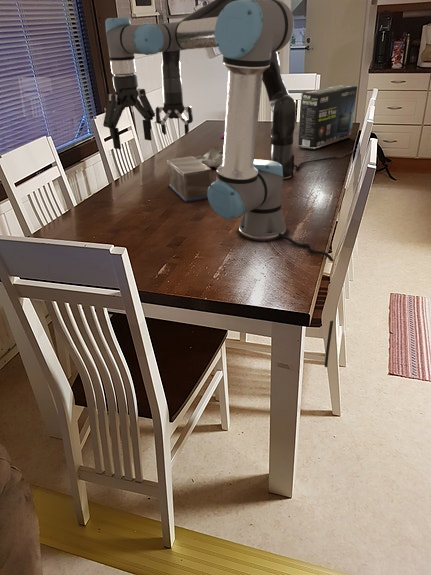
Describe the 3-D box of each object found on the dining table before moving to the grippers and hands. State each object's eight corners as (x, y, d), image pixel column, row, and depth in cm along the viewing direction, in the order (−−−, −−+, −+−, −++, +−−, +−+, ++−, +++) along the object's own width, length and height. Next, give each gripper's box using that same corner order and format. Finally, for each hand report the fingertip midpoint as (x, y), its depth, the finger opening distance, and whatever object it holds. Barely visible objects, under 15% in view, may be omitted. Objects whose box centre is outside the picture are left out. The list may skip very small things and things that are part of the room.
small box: (169, 186, 193) (166, 159, 187) (194, 182, 196) (192, 156, 191) (185, 202, 176) (183, 173, 170) (212, 197, 179) (211, 169, 174)
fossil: (221, 163, 205) (198, 141, 208) (209, 182, 212) (187, 161, 215) (241, 160, 219) (220, 139, 222) (229, 178, 225) (209, 158, 229)
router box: (314, 151, 231) (318, 94, 217) (296, 148, 237) (299, 92, 224) (352, 138, 251) (358, 85, 238) (335, 135, 258) (340, 83, 245)
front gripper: (145, 70, 153) (152, 135, 164) (84, 79, 137) (96, 150, 148) (161, 70, 149) (167, 137, 160) (99, 80, 133) (111, 154, 144)
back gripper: (192, 88, 176) (194, 131, 184) (155, 89, 177) (159, 132, 186) (189, 91, 170) (192, 136, 178) (151, 92, 171) (156, 136, 179)
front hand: (133, 144), depth 154 cm, fingers open, 13 cm apart
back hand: (175, 134), depth 182 cm, fingers open, 8 cm apart
